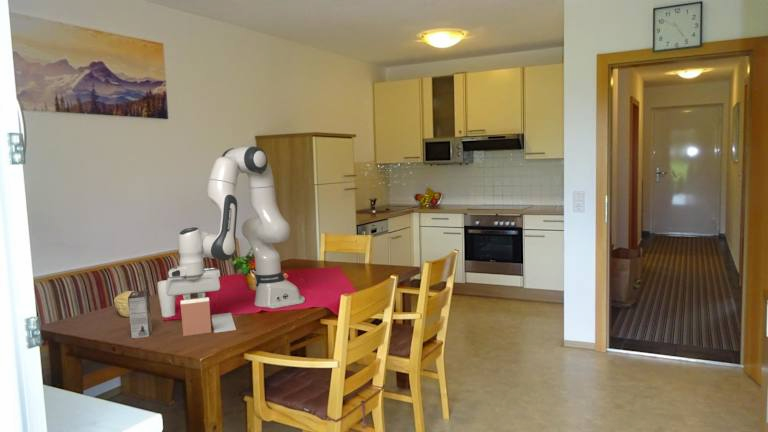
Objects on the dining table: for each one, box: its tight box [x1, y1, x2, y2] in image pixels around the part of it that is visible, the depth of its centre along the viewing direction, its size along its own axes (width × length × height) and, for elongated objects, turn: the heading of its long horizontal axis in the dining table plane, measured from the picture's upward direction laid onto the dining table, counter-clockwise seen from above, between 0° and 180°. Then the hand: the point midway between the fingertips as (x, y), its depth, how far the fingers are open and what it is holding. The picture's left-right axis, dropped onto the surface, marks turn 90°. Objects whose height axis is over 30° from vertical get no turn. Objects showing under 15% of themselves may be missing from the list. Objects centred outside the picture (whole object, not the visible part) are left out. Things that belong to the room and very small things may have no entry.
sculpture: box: [113, 290, 137, 318], centre depth 243 cm, size 12×12×11 cm
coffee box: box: [128, 289, 153, 340], centre depth 214 cm, size 9×6×16 cm
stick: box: [190, 293, 198, 299], centre depth 221 cm, size 3×22×4 cm, turn 19°
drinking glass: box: [157, 279, 176, 319], centre depth 238 cm, size 7×7×15 cm
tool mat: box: [210, 312, 237, 334], centre depth 225 cm, size 8×26×1 cm, turn 19°
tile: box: [180, 296, 212, 337], centre depth 210 cm, size 10×3×14 cm, turn 109°
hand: (194, 303), depth 221 cm, fingers closed on stick, 3 cm apart
